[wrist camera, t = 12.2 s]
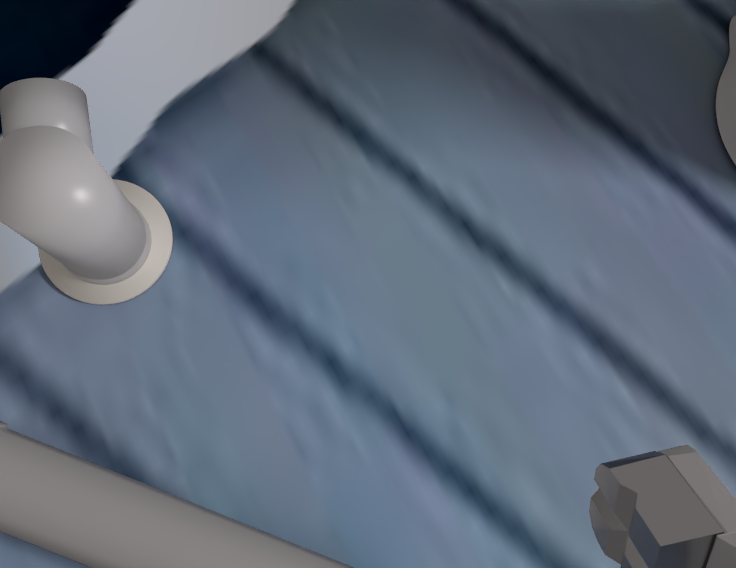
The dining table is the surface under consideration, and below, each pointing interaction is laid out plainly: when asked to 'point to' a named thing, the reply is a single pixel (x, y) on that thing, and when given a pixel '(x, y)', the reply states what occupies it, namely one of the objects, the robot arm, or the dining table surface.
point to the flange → (136, 282)
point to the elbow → (65, 185)
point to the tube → (124, 517)
